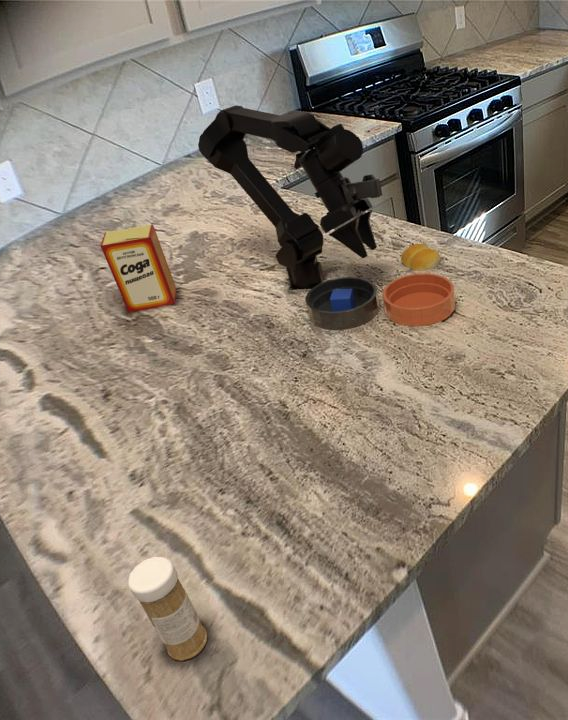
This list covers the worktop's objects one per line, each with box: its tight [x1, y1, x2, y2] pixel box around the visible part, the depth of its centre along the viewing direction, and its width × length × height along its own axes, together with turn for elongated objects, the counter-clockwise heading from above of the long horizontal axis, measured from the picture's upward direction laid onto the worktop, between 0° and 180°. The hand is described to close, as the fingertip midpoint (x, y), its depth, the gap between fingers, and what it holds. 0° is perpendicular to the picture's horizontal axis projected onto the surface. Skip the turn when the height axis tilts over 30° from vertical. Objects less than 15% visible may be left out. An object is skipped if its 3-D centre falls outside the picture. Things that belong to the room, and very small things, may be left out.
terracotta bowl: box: [382, 272, 456, 327], centre depth 133 cm, size 14×14×4 cm
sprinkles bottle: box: [127, 556, 208, 662], centre depth 73 cm, size 5×5×13 cm
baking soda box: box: [100, 224, 177, 313], centre depth 139 cm, size 10×6×16 cm
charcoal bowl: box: [304, 276, 380, 331], centre depth 134 cm, size 14×14×4 cm
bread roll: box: [400, 243, 441, 272], centre depth 150 cm, size 8×9×4 cm
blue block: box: [330, 288, 355, 312], centre depth 134 cm, size 4×4×4 cm
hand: (370, 253), depth 129 cm, fingers open, 9 cm apart
